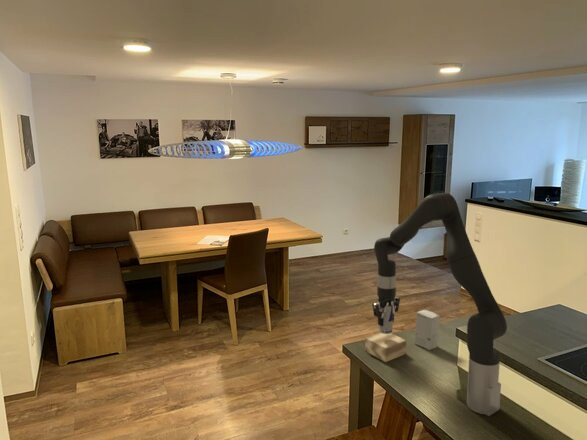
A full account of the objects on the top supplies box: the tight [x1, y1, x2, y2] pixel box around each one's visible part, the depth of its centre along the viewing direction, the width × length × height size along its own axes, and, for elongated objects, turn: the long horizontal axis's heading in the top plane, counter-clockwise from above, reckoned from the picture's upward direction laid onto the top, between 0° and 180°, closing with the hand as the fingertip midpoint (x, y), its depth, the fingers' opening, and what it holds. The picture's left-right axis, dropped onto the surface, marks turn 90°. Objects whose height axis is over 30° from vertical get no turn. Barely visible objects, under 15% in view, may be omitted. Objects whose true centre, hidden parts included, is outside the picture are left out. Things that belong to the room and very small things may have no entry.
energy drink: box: [378, 305, 394, 334], centre depth 183 cm, size 5×5×12 cm
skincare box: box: [414, 309, 441, 351], centre depth 190 cm, size 8×6×15 cm
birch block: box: [364, 331, 407, 363], centre depth 185 cm, size 12×12×6 cm
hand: (386, 323), depth 184 cm, fingers closed on energy drink, 5 cm apart
